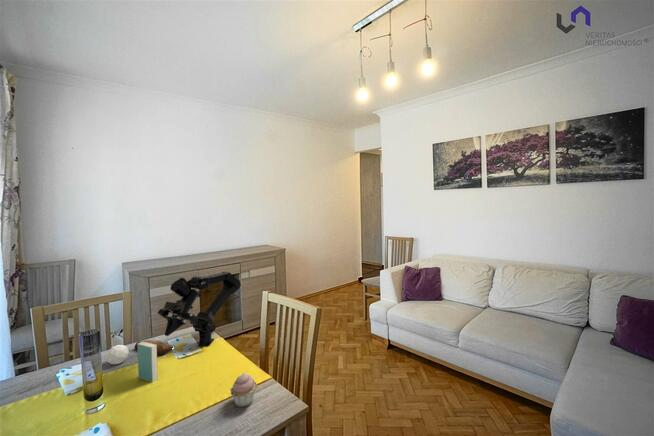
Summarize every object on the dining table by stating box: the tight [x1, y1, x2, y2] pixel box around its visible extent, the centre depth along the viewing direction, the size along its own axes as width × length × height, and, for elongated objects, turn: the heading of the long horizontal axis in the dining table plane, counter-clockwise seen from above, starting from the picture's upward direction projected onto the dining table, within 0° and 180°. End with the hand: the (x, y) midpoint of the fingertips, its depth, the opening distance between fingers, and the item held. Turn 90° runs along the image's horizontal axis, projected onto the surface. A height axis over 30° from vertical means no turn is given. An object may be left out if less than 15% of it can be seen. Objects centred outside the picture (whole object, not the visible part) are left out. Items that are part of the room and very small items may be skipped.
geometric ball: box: [105, 344, 130, 365], centre depth 121 cm, size 8×8×8 cm
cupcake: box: [229, 372, 258, 408], centre depth 98 cm, size 9×9×10 cm
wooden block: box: [137, 340, 158, 383], centre depth 110 cm, size 2×8×14 cm, turn 70°
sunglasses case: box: [134, 339, 173, 356], centre depth 133 cm, size 18×7×7 cm
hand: (166, 335), depth 118 cm, fingers closed
